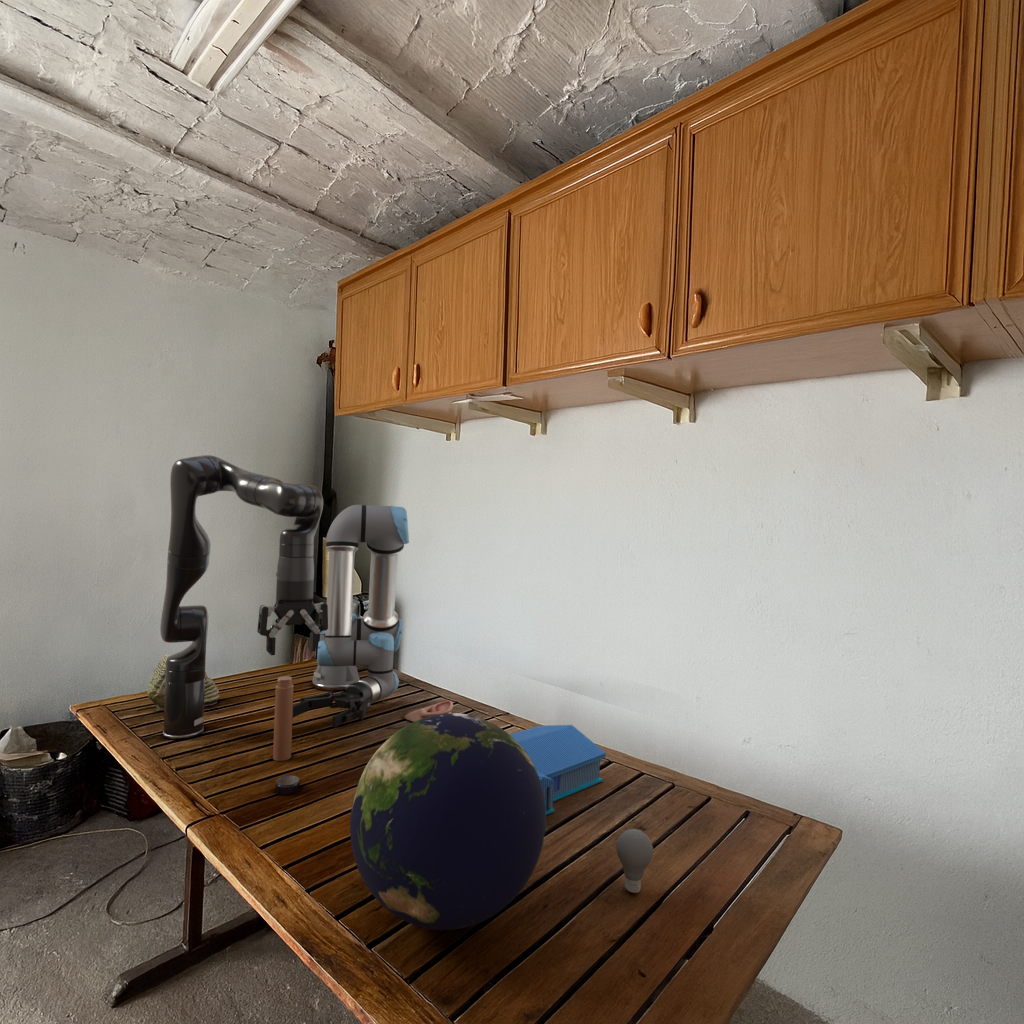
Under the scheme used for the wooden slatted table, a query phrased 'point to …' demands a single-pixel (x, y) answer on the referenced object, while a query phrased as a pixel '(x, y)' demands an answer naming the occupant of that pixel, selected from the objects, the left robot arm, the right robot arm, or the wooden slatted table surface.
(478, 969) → the wooden slatted table surface
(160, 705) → the fossil
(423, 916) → the globe
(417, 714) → the anatomical model
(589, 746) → the model building
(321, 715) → the wooden slatted table surface
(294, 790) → the lid
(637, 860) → the light bulb
